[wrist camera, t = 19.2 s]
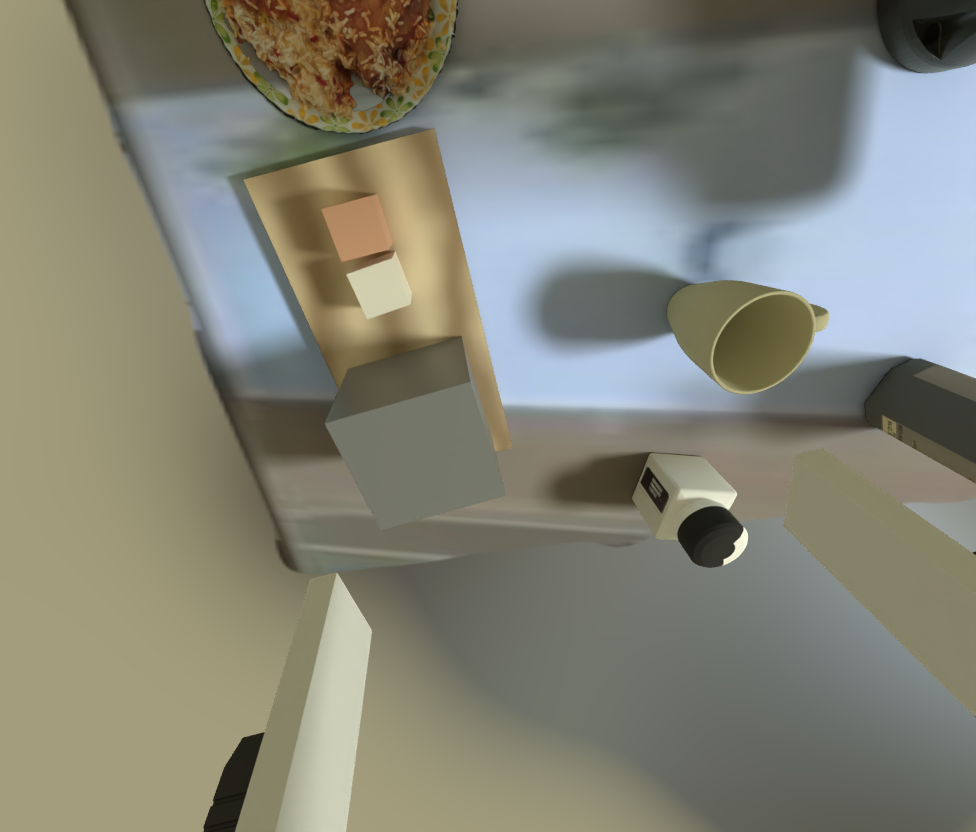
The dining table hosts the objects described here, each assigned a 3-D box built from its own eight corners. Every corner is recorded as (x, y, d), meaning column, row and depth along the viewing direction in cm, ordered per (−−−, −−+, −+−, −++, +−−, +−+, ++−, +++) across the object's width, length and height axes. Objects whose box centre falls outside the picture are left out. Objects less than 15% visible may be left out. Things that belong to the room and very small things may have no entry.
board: (434, 130, 36) (434, 128, 35) (510, 440, 52) (512, 447, 51) (249, 179, 36) (243, 179, 35) (381, 473, 52) (380, 481, 51)
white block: (395, 251, 39) (391, 258, 36) (412, 293, 41) (410, 304, 37) (353, 265, 39) (346, 274, 36) (372, 307, 41) (367, 319, 38)
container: (630, 498, 59) (677, 575, 48) (649, 451, 55) (704, 522, 44) (681, 501, 60) (739, 577, 49) (703, 455, 57) (770, 525, 45)
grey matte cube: (461, 336, 44) (470, 381, 34) (491, 433, 49) (505, 495, 40) (347, 368, 44) (324, 423, 34) (390, 461, 50) (380, 530, 40)
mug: (684, 367, 50) (751, 417, 40) (630, 313, 46) (689, 354, 36) (764, 292, 47) (860, 326, 36) (713, 228, 43) (805, 245, 32)
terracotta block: (377, 193, 37) (371, 195, 33) (392, 242, 39) (389, 249, 35) (331, 205, 37) (321, 209, 33) (349, 254, 39) (341, 262, 35)
